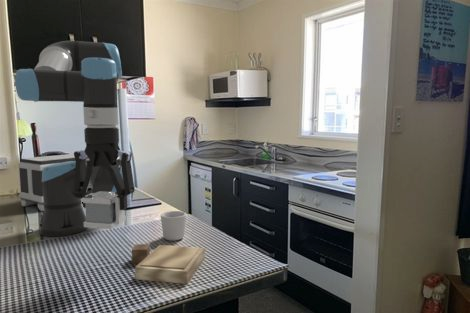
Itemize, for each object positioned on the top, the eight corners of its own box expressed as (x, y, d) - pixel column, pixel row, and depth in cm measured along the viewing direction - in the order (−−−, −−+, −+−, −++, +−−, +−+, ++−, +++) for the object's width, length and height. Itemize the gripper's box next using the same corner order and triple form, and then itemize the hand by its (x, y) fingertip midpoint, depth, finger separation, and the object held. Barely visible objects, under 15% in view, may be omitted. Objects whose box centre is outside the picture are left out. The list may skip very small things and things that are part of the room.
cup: (163, 231, 119) (163, 208, 118) (187, 231, 120) (187, 208, 119) (159, 243, 109) (159, 217, 108) (185, 242, 109) (185, 217, 108)
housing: (83, 227, 82) (82, 196, 81) (100, 218, 89) (99, 189, 88) (111, 228, 81) (110, 197, 80) (126, 220, 88) (125, 191, 87)
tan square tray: (135, 279, 84) (135, 266, 84) (160, 255, 99) (159, 243, 98) (187, 283, 82) (187, 270, 81) (204, 258, 96) (204, 247, 96)
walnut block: (132, 264, 93) (131, 249, 93) (135, 258, 97) (134, 244, 96) (147, 264, 93) (147, 249, 93) (149, 258, 97) (149, 244, 97)
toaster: (112, 196, 173) (110, 154, 170) (42, 212, 144) (39, 161, 142) (89, 192, 183) (87, 152, 180) (19, 206, 154) (16, 158, 152)
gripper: (52, 126, 80) (58, 223, 83) (133, 127, 77) (137, 229, 79) (73, 125, 87) (78, 214, 90) (148, 126, 84) (150, 219, 87)
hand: (105, 221), depth 85 cm, fingers closed on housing, 7 cm apart
